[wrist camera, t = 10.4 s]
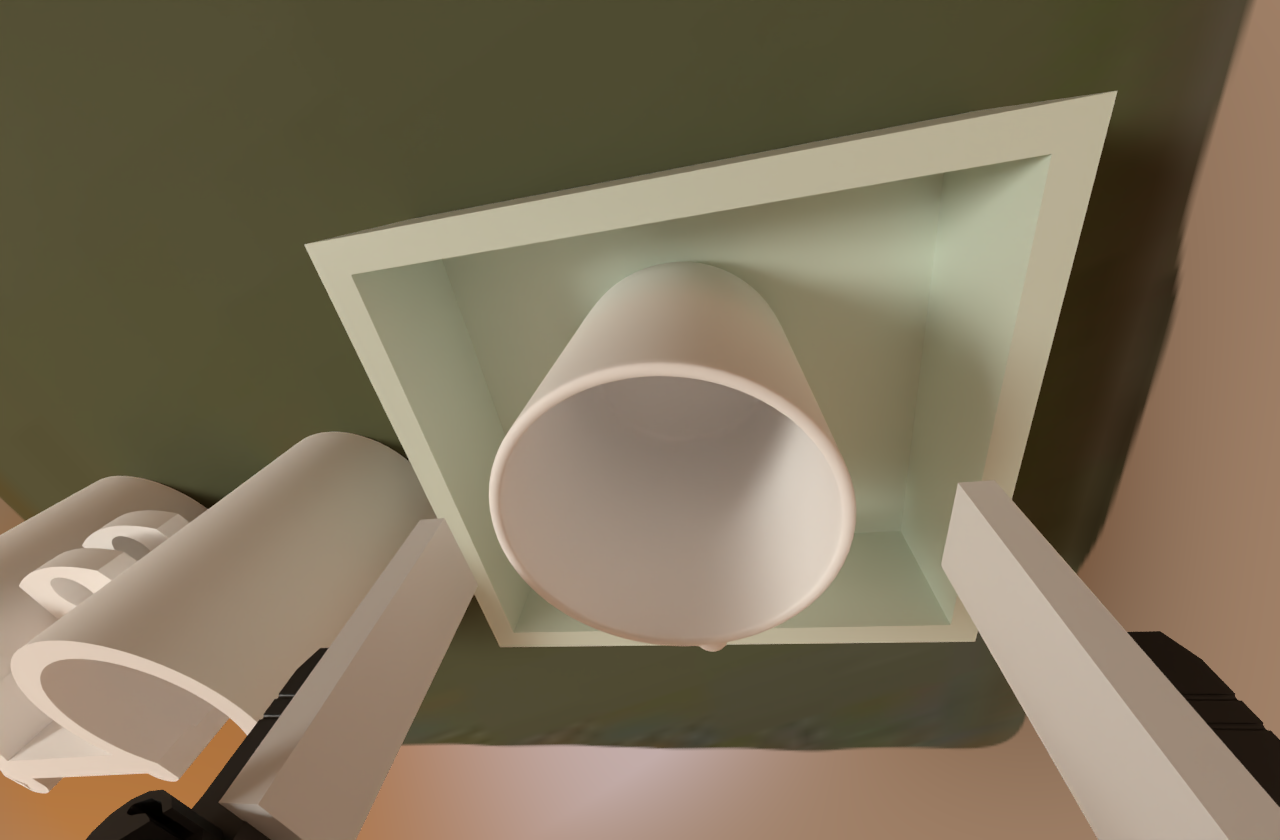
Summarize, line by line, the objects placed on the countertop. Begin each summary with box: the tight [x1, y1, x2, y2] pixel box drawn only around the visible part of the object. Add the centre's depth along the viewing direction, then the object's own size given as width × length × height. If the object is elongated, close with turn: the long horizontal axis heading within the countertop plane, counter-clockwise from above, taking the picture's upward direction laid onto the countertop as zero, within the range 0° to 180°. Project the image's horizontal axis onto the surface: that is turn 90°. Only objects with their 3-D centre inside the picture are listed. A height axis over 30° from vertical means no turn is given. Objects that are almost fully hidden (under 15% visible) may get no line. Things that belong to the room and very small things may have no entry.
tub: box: [304, 91, 1117, 647], centre depth 19 cm, size 18×20×6 cm
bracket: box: [0, 432, 438, 793], centre depth 23 cm, size 25×10×12 cm, turn 108°
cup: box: [489, 262, 856, 652], centre depth 16 cm, size 8×12×10 cm
